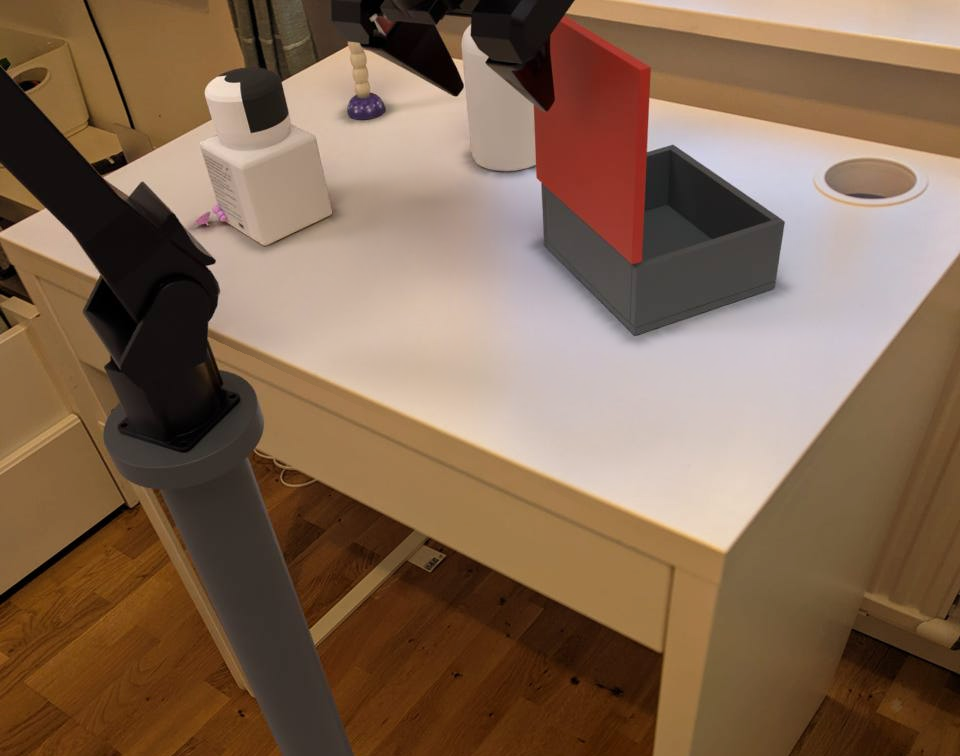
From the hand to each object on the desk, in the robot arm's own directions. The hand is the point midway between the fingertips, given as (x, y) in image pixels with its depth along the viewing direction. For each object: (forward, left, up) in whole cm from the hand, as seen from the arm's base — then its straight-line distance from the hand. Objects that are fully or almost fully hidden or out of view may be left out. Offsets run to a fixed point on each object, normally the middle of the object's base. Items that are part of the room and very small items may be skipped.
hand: (502, 98), depth 68 cm
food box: (+4, -11, -14) cm, 18 cm away
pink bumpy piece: (-2, +30, -14) cm, 34 cm away
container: (+1, +25, -14) cm, 29 cm away
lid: (0, -7, -1) cm, 7 cm away
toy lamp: (+24, +30, -14) cm, 41 cm away
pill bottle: (+19, +9, -14) cm, 26 cm away
